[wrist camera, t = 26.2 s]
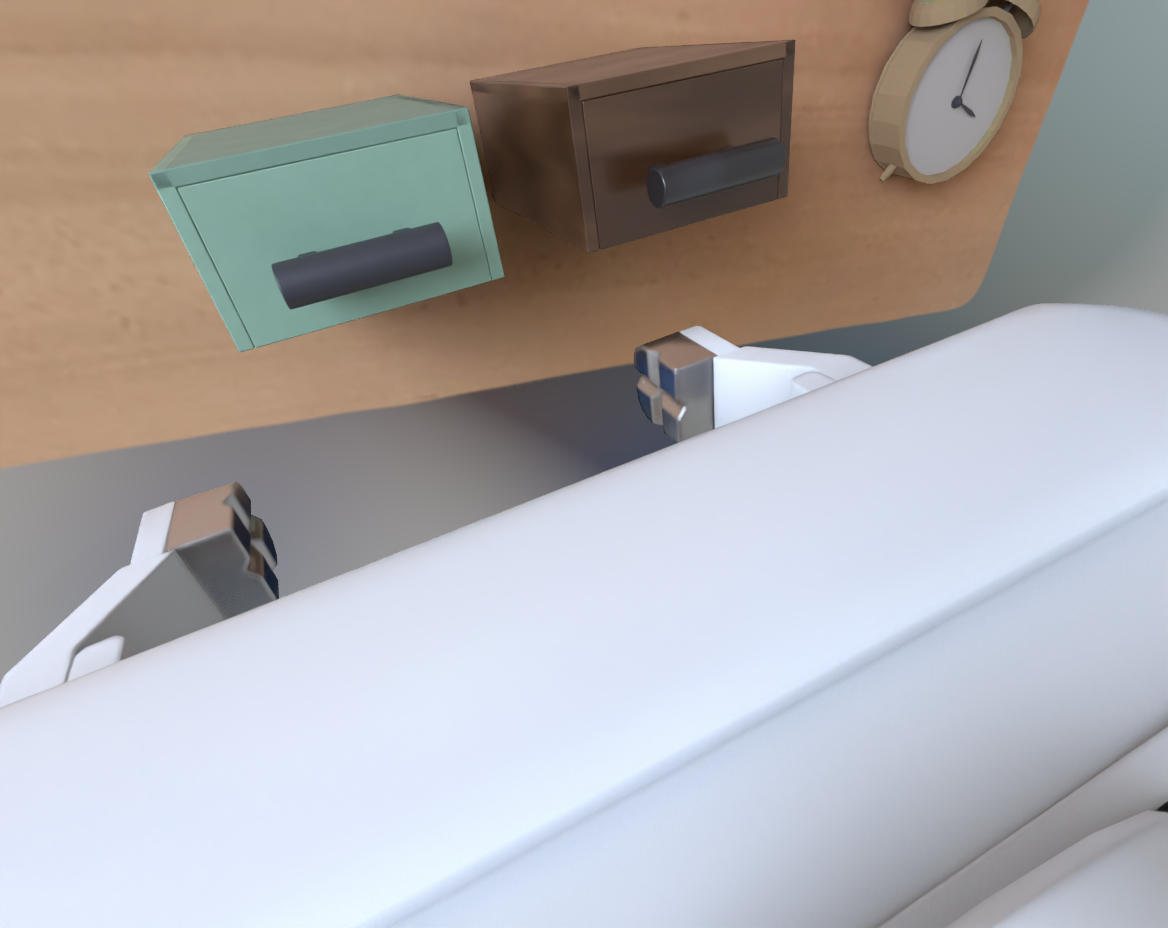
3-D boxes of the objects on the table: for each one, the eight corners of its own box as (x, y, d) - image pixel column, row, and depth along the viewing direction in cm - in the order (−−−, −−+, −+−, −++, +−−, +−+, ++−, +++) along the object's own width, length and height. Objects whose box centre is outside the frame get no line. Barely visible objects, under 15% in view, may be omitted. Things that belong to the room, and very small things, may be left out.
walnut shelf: (641, 47, 38) (649, 163, 42) (469, 80, 35) (494, 201, 39) (843, 37, 25) (828, 206, 29) (596, 88, 22) (616, 269, 26)
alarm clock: (875, 188, 47) (983, -74, 37) (832, 167, 50) (921, -78, 40) (976, 188, 51) (1096, -47, 41) (930, 168, 54) (1031, -53, 45)
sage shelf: (399, 94, 34) (432, 217, 38) (183, 136, 31) (243, 264, 35) (490, 111, 21) (527, 295, 25) (134, 185, 18) (237, 381, 22)
